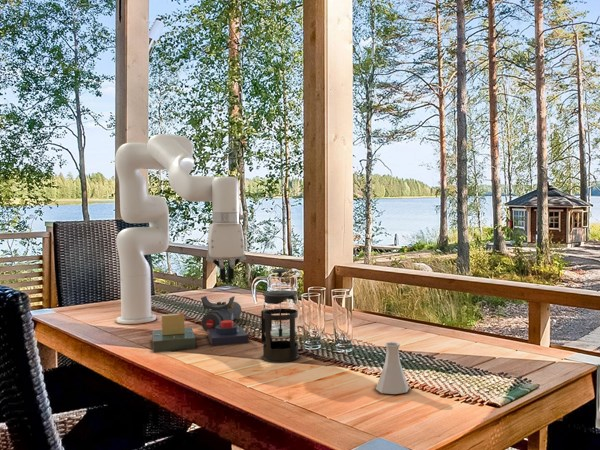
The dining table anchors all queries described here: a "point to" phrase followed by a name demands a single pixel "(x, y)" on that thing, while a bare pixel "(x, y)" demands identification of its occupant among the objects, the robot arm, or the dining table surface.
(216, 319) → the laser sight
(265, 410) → the dining table surface
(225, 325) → the red button
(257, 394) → the dining table surface
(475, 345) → the dining table surface
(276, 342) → the french press
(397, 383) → the flask
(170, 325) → the tan flat block
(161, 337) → the panel
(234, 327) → the button block
